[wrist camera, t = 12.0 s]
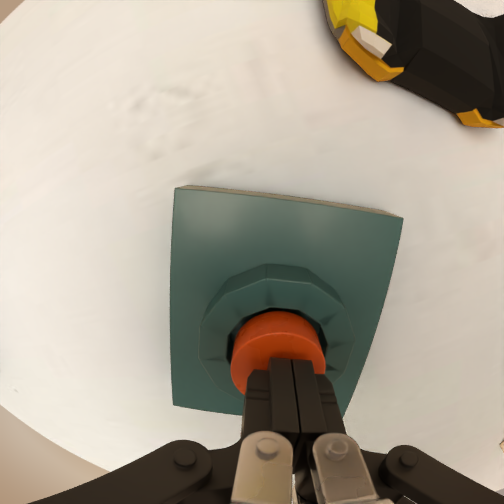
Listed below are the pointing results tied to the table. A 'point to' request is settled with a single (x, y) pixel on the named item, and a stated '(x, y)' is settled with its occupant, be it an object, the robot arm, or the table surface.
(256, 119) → the table surface
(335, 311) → the button block
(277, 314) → the button
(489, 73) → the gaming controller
